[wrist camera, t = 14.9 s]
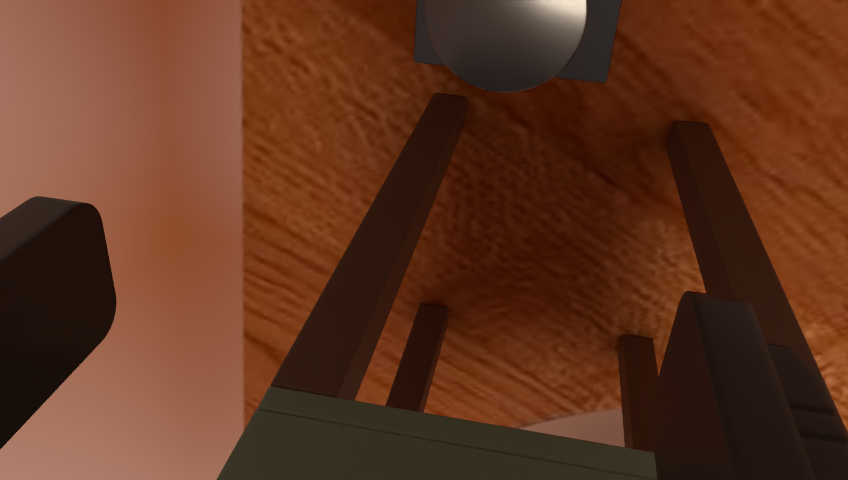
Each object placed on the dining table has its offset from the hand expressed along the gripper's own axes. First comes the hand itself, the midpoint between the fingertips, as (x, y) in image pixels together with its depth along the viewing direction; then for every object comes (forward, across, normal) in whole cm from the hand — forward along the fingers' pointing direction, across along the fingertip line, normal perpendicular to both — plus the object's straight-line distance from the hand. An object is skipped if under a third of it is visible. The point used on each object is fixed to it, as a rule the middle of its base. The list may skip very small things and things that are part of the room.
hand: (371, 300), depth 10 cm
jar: (+26, 0, 0) cm, 26 cm away
